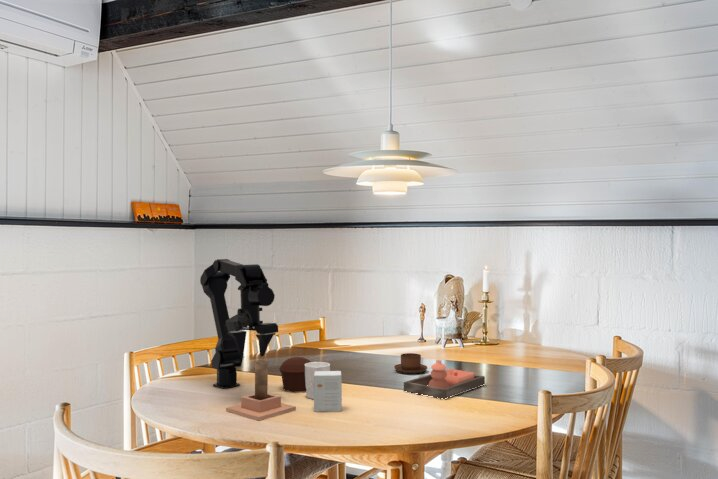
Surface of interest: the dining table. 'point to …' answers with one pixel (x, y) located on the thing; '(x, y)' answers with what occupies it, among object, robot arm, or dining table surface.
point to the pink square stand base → (260, 407)
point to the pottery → (447, 376)
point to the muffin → (294, 374)
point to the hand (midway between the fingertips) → (251, 355)
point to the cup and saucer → (410, 364)
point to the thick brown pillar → (261, 380)
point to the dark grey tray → (421, 388)
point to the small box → (327, 391)
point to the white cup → (309, 375)
